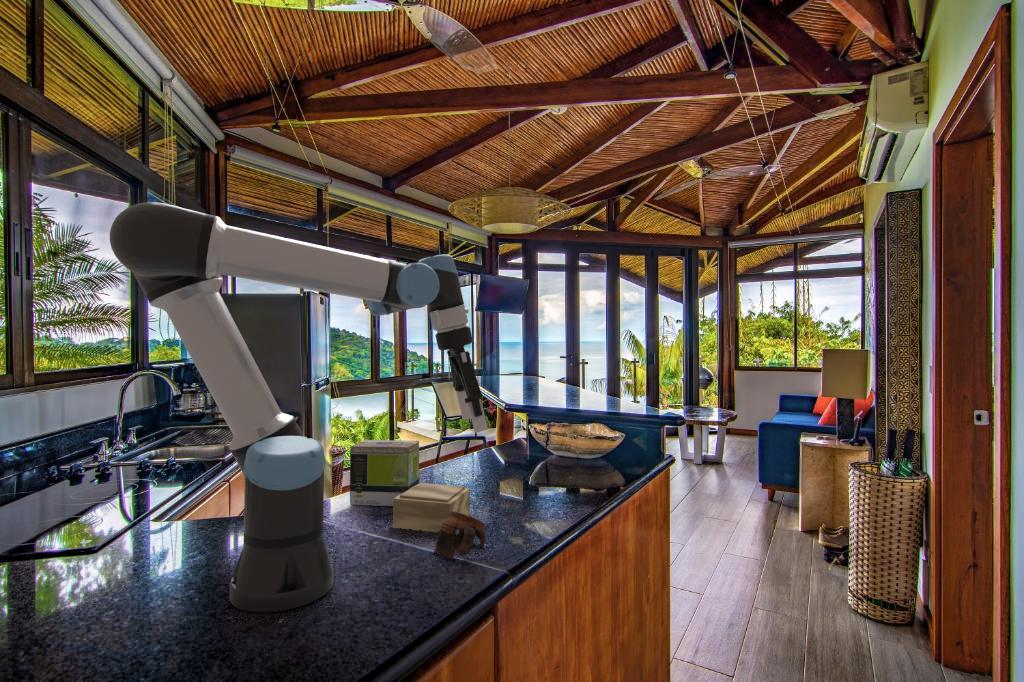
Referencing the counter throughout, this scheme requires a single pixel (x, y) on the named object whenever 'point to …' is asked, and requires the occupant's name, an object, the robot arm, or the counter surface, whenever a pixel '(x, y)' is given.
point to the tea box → (382, 471)
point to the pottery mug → (459, 535)
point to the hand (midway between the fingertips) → (474, 424)
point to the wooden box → (429, 506)
